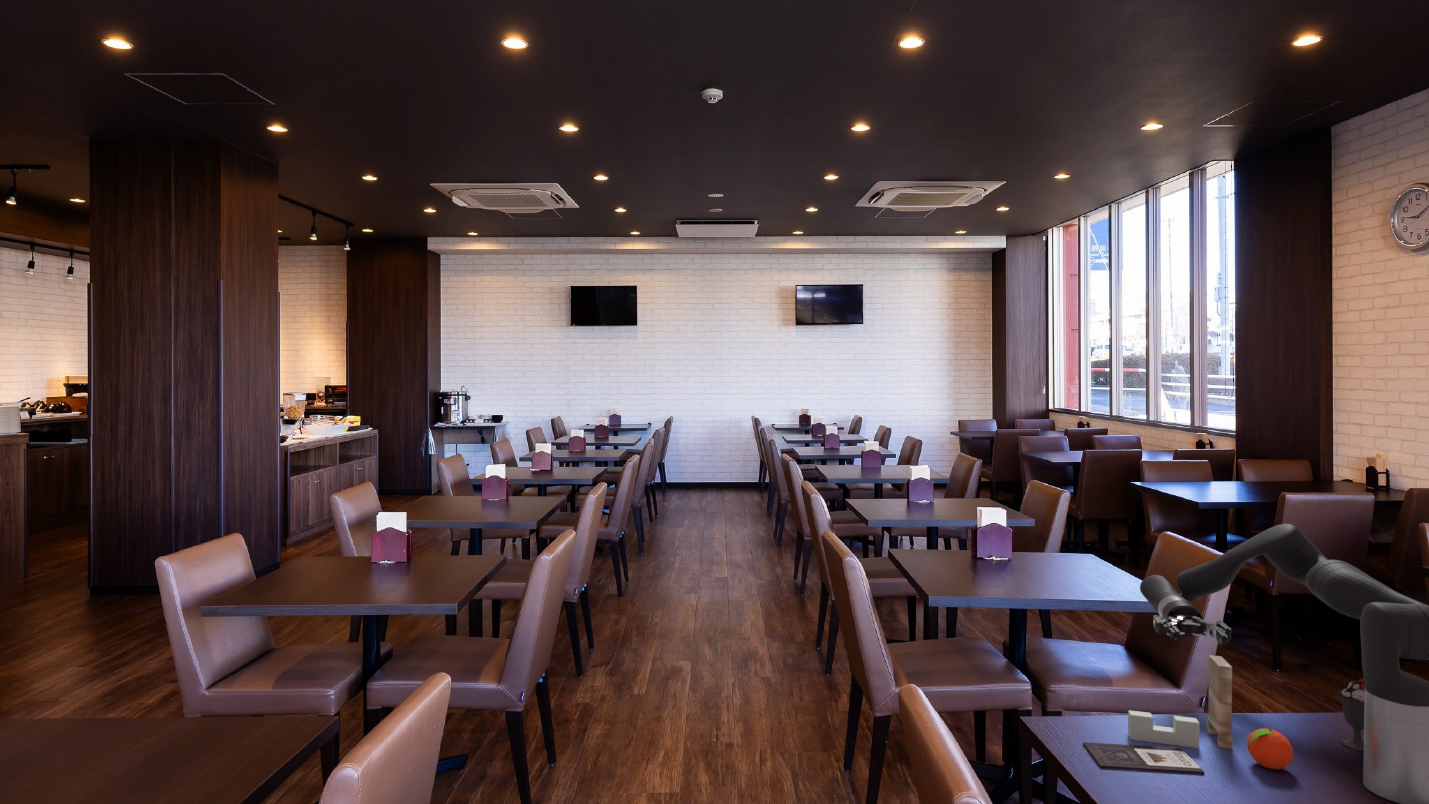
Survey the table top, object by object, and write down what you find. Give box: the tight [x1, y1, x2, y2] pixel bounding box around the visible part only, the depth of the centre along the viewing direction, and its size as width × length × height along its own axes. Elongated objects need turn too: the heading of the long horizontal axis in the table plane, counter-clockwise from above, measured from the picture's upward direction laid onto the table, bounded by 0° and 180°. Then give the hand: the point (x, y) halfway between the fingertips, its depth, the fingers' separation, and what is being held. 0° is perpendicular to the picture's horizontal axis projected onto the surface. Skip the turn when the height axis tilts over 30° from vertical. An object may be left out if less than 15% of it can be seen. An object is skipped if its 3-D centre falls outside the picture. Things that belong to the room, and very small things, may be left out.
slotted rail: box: [1127, 710, 1200, 749], centre depth 147 cm, size 12×2×5 cm, turn 72°
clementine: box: [1246, 727, 1294, 770], centre depth 137 cm, size 8×7×7 cm
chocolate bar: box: [1082, 741, 1205, 776], centre depth 141 cm, size 9×1×18 cm
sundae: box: [1336, 677, 1365, 752], centre depth 145 cm, size 7×7×15 cm
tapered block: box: [1207, 654, 1233, 750], centre depth 148 cm, size 2×7×16 cm, turn 162°
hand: (1200, 638), depth 159 cm, fingers open, 8 cm apart
